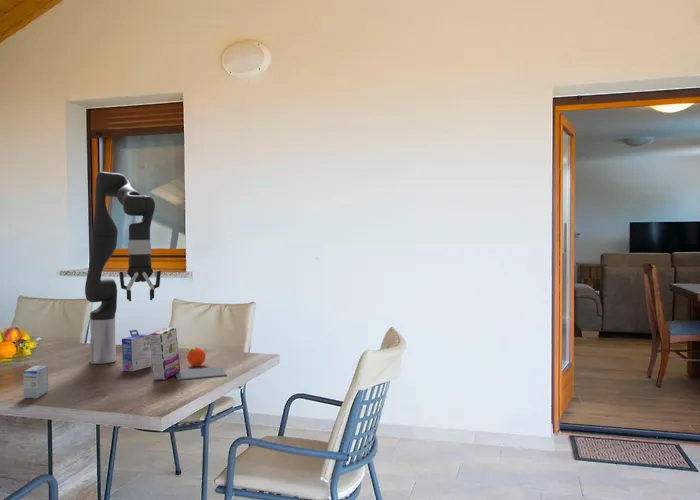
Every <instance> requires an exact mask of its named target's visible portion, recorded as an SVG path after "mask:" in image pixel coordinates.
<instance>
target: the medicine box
mask: <svg viewBox="0 0 700 500" xmlns="http://www.w3.org/2000/svg"><path fill="white" fill-rule="evenodd" d="M48 392H49V366H48V365H34V366H31V367H30V368H27V369H26V370H24V371H23V399H25V398H33V399H39V398H40V397H42V396H44V395H45V394H46V393H48Z"/></svg>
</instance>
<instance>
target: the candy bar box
mask: <svg viewBox="0 0 700 500" xmlns="http://www.w3.org/2000/svg"><path fill="white" fill-rule="evenodd" d="M148 335H149V338H150V351H151V366H152V374H153V376H152V377H153V380H154V381H161V380H162V381H163V380H167V379H169V378H171V377H172V376H175V374H176V373H178V372H180V370H181V366H180V356H179V355H180V354H179V346H178V345H179V344H178V343H179V342H178V336H177V335H178V334H177V327H175V326H174V327H163V328H162V329H159V330H156V331H154V332H151V333H149V334H148Z"/></svg>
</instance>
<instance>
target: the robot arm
mask: <svg viewBox="0 0 700 500" xmlns="http://www.w3.org/2000/svg"><path fill="white" fill-rule="evenodd" d="M94 189H95V191H94V192H95V194H94V197H95V198H94V215H93V216H94V217H93V224H92V234H91V244H90V245H91V246H90V256H89V263H88V271H87V274H86V280H85V284H84V285H85V287H84V295H85V298H86V300H87V301H88V302H89V303H101V304H100V306H98V307H97V308H95V309H94V310H92V311H91V312H90V314H89V319H90V320H89V321H90V322H89V323H90V325H89V326H90V327H89V328H90V331H89V332H90V334H89V335H90V338H89V339H90V342H89V343H90V346H89V347H90V352H89V353H90V364H92V365H93V364H96V365H97V364H98V365H99V364H100V365H101V364H103V365H104V364H109V363H114V362H115V361H117V354H116V353H117V351H116V350H117V349H116V346H117V345H116V341H117V340H116V313H117V309H118V308H117V307H118V306H117V303H118V301H117V300H118V286H117V282H116V280H115V279H114V278H111V277H104V278H102V274H103V271H104V268H105V266H106V264H107V263H108V261H109V260H110V258H111V257H112V255H113V254H114V252H115V251H116V248H117V244H118V236H119V235H118V232H119V231H118V227H117V226H116V223H115V221H114V220H113V217H111V214H110V213H109V210H108V207H107V201H106V198H107V197H111V198H113V197H114V198H116V199H117V200H118V202H119V204H121V205H122V209H123V212H124V214H126V215H127V216H131V217H135V216H136V217H137V216H138V217H141V216H142V218H141V220H140V221H137V222H132V223H130V224H129V225H128V249H127V252H128V253H127V254H128V257H127V258H128V269H127V270H125V271H122V270H120V271H119V272H118V274H119V282H120V283H119V284H120V289H121V290H125V291H126V300H128V302H131V301H132V290H131V289H132V286H133V285H134V284H135V283H140V282H142V283H145V282H146V283H147V284H148V286H149V301H153V299H155V290H156V289H157V288H160V287H161V286H160V285H161V276H162V275H161V273H162V271H161V270H159V269H158V270H154V269H153V268H152V243H151V225H152V220H153V217H154V213H155V209H156V203H155V200H154V198H153V197H152V196H149V195H141V193H140V192H139V191H137V190H136V189H134V188H133V185H132V184H131V183H130V181H129V180H128V178H127V177H126V175H124V174H122V173H118V172H109V171H108V172H107V171H99V172H98V173H97V175H96V178H95V188H94ZM126 275H128V276H129V277H130V280H129V282H128V284H127V285H125V278H126ZM152 275H154V277H155V284H153V283H152V281H151V279H150V278H151V276H152Z"/></svg>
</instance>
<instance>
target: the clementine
mask: <svg viewBox="0 0 700 500" xmlns="http://www.w3.org/2000/svg"><path fill="white" fill-rule="evenodd" d="M186 353H187V356H186V360H187V363H189V364H190V365H191V366H193V367H199V366H201V365H203V364H204V362H205V360H206V353H205V351H204V350H203V349H202V348H199V347H192V348H189V349H187V352H185V353H184V356H185V355H186Z"/></svg>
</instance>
